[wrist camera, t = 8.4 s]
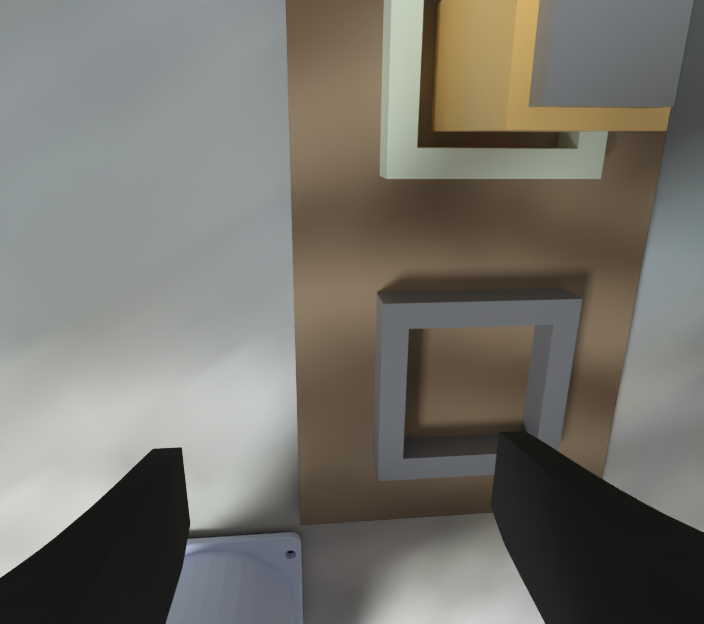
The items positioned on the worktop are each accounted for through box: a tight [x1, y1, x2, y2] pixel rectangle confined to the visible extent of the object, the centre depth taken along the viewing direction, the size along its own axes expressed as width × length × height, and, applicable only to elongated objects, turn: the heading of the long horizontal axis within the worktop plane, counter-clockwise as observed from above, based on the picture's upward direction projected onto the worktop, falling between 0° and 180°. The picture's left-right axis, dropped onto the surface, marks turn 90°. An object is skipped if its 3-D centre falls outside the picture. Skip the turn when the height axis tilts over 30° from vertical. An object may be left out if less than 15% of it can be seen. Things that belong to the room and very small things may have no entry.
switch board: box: [286, 0, 671, 525], centre depth 21 cm, size 26×14×1 cm, turn 0°
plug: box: [431, 0, 694, 132], centre depth 15 cm, size 4×4×8 cm
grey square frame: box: [373, 288, 582, 481], centre depth 21 cm, size 8×8×2 cm
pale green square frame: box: [380, 0, 608, 179], centre depth 18 cm, size 8×8×2 cm
